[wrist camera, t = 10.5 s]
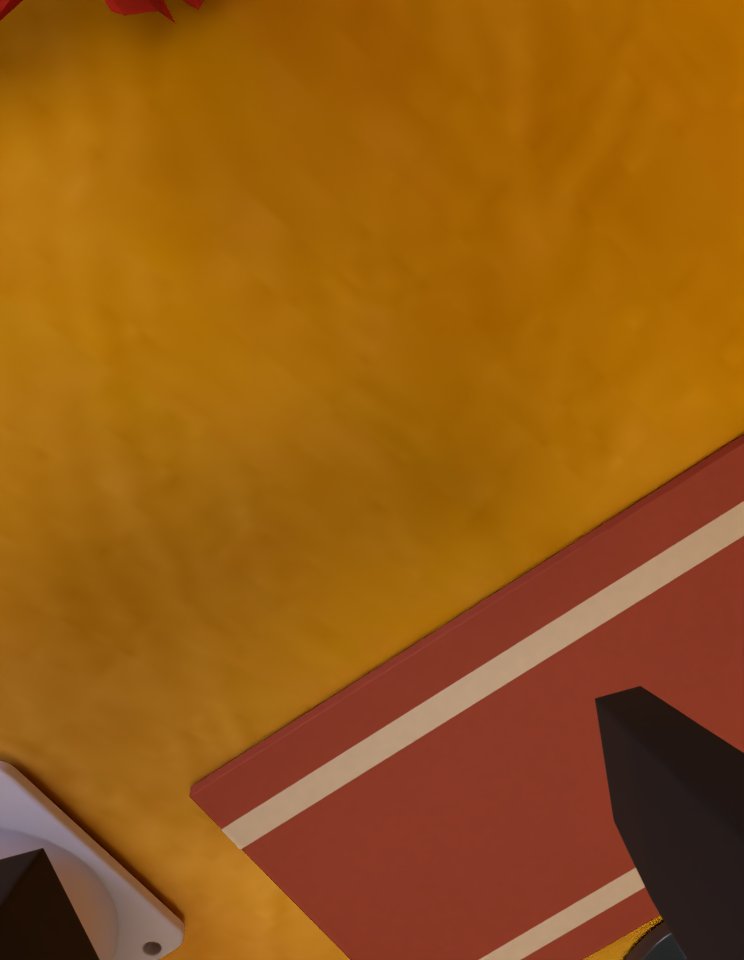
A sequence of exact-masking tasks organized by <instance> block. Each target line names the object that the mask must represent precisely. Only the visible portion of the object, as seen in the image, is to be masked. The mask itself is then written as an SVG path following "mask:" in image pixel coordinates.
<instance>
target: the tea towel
mask: <svg viewBox="0 0 744 960" xmlns="http://www.w3.org/2000/svg"><path fill="white" fill-rule="evenodd" d="M638 686H641V687H643V688H645V689H646V690H648V691H649V692H651V693H653V694H654V695H656V696H657V697H659V698H660V699H662V700H663V701H665V702H666V703H668V704H669V705H671V706H672V707H674V708H676V709H677V710H679V711H680V712H682V713H683V714H685V715H686V716H688V717H689V718H691V719H692V720H694V721H695V722H697V723H698V724H700V725H701V726H703V727H704V728H706V729H708V730H709V731H711V732H712V733H714V734H715V735H717V736H718V737H720V738H721V739H723V740H725V741H726V742H728V743H729V744H731V745H732V746H734V747H735V748H737V749H739V750H740V751H742V752H743V753H744V435H742V436H740V437H739V438H737V439H736V440H734V441H733V442H731V443H729V444H728V445H726V446H725V447H723V448H722V449H720V450H718V451H717V452H715V453H714V454H712V455H711V456H709V457H707V458H706V459H704V460H703V461H701V462H700V463H698V464H696V465H695V466H693V467H692V468H690V469H689V470H687V471H686V472H684V473H682V474H681V475H679V476H678V477H676V478H675V479H673V480H671V481H670V482H668V483H667V484H665V485H664V486H662V487H660V488H659V489H657V490H656V491H654V492H653V493H651V494H649V495H648V496H646V497H645V498H643V499H642V500H640V501H638V502H637V503H635V504H634V505H632V506H631V507H629V508H627V509H626V510H624V511H623V512H621V513H620V514H618V515H616V516H615V517H613V518H612V519H610V520H609V521H607V522H606V523H604V524H602V525H601V526H599V527H598V528H596V529H595V530H593V531H591V532H590V533H588V534H587V535H585V536H584V537H582V538H580V539H579V540H577V541H576V542H574V543H573V544H571V545H569V546H568V547H566V548H565V549H563V550H562V551H560V552H558V553H557V554H555V555H554V556H552V557H551V558H549V559H547V560H546V561H544V562H543V563H541V564H540V565H538V566H536V567H535V568H533V569H532V570H530V571H529V572H527V573H525V574H524V575H522V576H521V577H519V578H518V579H516V580H515V581H513V582H511V583H510V584H508V585H507V586H505V587H504V588H502V589H500V590H499V591H497V592H496V593H494V594H493V595H491V596H489V597H488V598H486V599H485V600H483V601H482V602H480V603H478V604H477V605H475V606H474V607H472V608H471V609H469V610H467V611H466V612H464V613H463V614H461V615H460V616H458V617H456V618H455V619H453V620H452V621H450V622H449V623H447V624H445V625H444V626H442V627H441V628H439V629H438V630H436V631H435V632H433V633H431V634H430V635H428V636H427V637H425V638H424V639H422V640H420V641H419V642H417V643H416V644H414V645H413V646H411V647H409V648H408V649H406V650H405V651H403V652H402V653H400V654H398V655H397V656H395V657H394V658H392V659H391V660H389V661H387V662H386V663H384V664H383V665H381V666H380V667H378V668H376V669H375V670H373V671H372V672H370V673H369V674H367V675H365V676H364V677H362V678H361V679H359V680H358V681H356V682H355V683H353V684H351V685H350V686H348V687H347V688H345V689H344V690H342V691H340V692H339V693H337V694H336V695H334V696H333V697H331V698H329V699H328V700H326V701H325V702H323V703H322V704H320V705H318V706H317V707H315V708H314V709H312V710H311V711H309V712H307V713H306V714H304V715H303V716H301V717H300V718H298V719H296V720H295V721H293V722H292V723H290V724H289V725H287V726H285V727H284V728H282V729H281V730H279V731H278V732H276V733H275V734H273V735H271V736H270V737H268V738H267V739H265V740H264V741H262V742H260V743H259V744H257V745H256V746H254V747H253V748H251V749H249V750H248V751H246V752H245V753H243V754H242V755H240V756H238V757H237V758H235V759H234V760H232V761H231V762H229V763H227V764H226V765H224V766H223V767H221V768H220V769H218V770H216V771H215V772H213V773H212V774H210V775H209V776H207V777H205V778H204V779H202V780H201V781H199V782H198V783H196V784H194V785H193V786H192V787H191V790H190V795H189V796H190V798H191V799H192V800H193V801H194V802H195V803H196V804H197V805H198V806H199V807H200V808H201V809H202V810H203V811H204V812H205V813H206V814H207V815H208V816H209V817H210V818H211V819H212V820H213V821H214V822H215V823H216V824H217V825H218V826H219V827H220V828H221V831H222V832H223V833H224V834H225V835H226V836H227V837H228V838H229V839H230V840H231V841H232V842H233V843H234V844H235V845H236V846H237V847H238V848H239V849H240V850H241V849H242V850H243V851H244V852H245V853H246V854H247V855H248V856H249V857H250V858H251V859H252V860H253V861H254V862H255V863H256V864H257V865H258V866H259V867H260V868H261V869H262V870H263V871H264V873H265V874H266V875H267V876H268V877H269V878H270V879H271V880H272V881H273V882H274V883H275V884H276V885H277V886H278V887H279V888H280V889H281V890H282V891H283V892H284V893H285V894H286V895H287V896H288V897H289V898H290V899H291V900H292V901H293V902H294V903H295V904H296V905H297V906H298V907H299V908H300V909H301V910H302V911H303V912H304V913H305V914H306V915H307V916H308V917H309V918H310V919H311V920H312V921H313V922H314V923H315V924H316V925H317V926H318V927H319V928H320V929H321V930H322V931H323V932H324V933H325V934H326V935H327V936H328V937H329V938H330V939H331V940H332V941H333V942H334V943H335V944H336V945H337V946H338V947H339V948H340V949H341V950H342V951H343V952H344V953H345V954H346V956H347V957H348V958H349V959H350V960H583V959H585V958H587V957H588V956H590V955H592V954H593V953H595V952H597V951H599V950H600V949H602V948H604V947H606V946H607V945H609V944H611V943H612V942H614V941H616V940H618V939H619V938H621V937H623V936H625V935H626V934H628V933H630V932H631V931H633V930H635V929H637V928H638V927H640V926H642V925H644V924H645V923H647V922H649V921H650V920H652V919H654V918H656V917H657V916H659V915H660V913H659V912H658V910H657V908H656V907H655V905H654V903H653V902H652V900H651V898H650V896H649V894H648V892H647V890H646V888H645V886H644V883H643V881H642V879H641V877H640V875H639V873H638V871H637V869H636V867H635V865H634V863H633V861H632V859H631V857H630V854H629V852H628V850H627V848H626V846H625V844H624V842H623V840H622V837H621V835H620V833H619V831H618V829H617V827H616V825H615V822H614V819H613V813H612V806H611V800H610V793H609V787H608V781H607V774H606V768H605V761H604V755H603V748H602V742H601V735H600V729H599V722H598V716H597V709H596V703H595V698H598V697H601V696H605V695H609V694H613V693H616V692H620V691H624V690H627V689H631V688H635V687H638Z"/></svg>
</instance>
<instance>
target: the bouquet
mask: <svg viewBox="0 0 744 960" xmlns="http://www.w3.org/2000/svg"><path fill="white" fill-rule="evenodd" d="M21 1H22V0H0V20H2V19H3V18H4V17H5V16H6V15H7V14H8V13H9V12H10V11H11V10H13V9H14V8H15V7H16V6H17V5H18V4H19V3H20V2H21ZM183 1H185V2H187V3H188V4H190V5H191V6H193V7H195V8H196V9H199V7H200V6H201V4H202V2H203V1H204V0H183ZM105 2H106V4H107V5H108V7H109V8H110V10H111V11H113V12H116V13H119V14H122V15H129V14H137V13H145V12H154V11H159V12H161V13H162V14H163V15H165V16H166V17H167V18H169V19H170V20H171V21H173V22H174V23H175V21H174V20H173V18H172V16H171V14H170V12H169V10H168V8H167V6H166V4H165V3H164V1H163V0H105ZM175 24H176V23H175Z"/></svg>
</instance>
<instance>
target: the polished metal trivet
mask: <svg viewBox="0 0 744 960" xmlns="http://www.w3.org/2000/svg"><path fill="white" fill-rule="evenodd" d="M625 960H687V958H686V956H685V955H684V953H683V951H682V950H681V948H680V947H679V945H678V943H677V942H676V940H675V938H674V937H673V935H672V933H671V932H670V930H669V928H668V927H667V925H666V923H665V922H664V921H663V922H662V923H660V924H659V925H658V926H657V927H655V928H654V929H653V930H651V931H650V932H649V933H648V934H647V935H646V936H645V937H644V938H643V939H642V940H640V941H639V942H638V943H637V944H636V946H635V947H634V948H633V949H632V950H631V952H630V953H629V954H628V955H627V957H626V958H625Z"/></svg>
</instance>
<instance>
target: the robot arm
mask: <svg viewBox="0 0 744 960" xmlns="http://www.w3.org/2000/svg"><path fill="white" fill-rule="evenodd" d="M595 703H596V709H597V716H598V722H599V729H600V735H601V742H602V748H603V755H604V761H605V768H606V774H607V781H608V787H609V793H610V800H611V806H612V813H613V819H614V822H615V825H616V827H617V829H618V831H619V833H620V835H621V837H622V840H623V842H624V844H625V846H626V848H627V850H628V852H629V854H630V857H631V859H632V861H633V863H634V865H635V867H636V869H637V871H638V873H639V875H640V877H641V879H642V881H643V883H644V886H645V888H646V890H647V892H648V894H649V896H650V898H651V900H652V902H653V903H654V905H655V907H656V908H657V910H658V912H659V913H660V915H661V917H662V918H663V920H664V922H665V923H666V925H667V927H668V928H669V930H670V932H671V933H672V935H673V937H674V938H675V940H676V942H677V943H678V945H679V947H680V948H681V950H682V951H683V953H684V955H685V956H686V958H687V960H744V753H743V752H742V751H740V750H739V749H737V748H735V747H734V746H732V745H731V744H729V743H728V742H726V741H725V740H723V739H721V738H720V737H718V736H717V735H715V734H714V733H712V732H711V731H709V730H708V729H706V728H704V727H703V726H701V725H700V724H698V723H697V722H695V721H694V720H692V719H691V718H689V717H688V716H686V715H685V714H683V713H682V712H680V711H679V710H677V709H676V708H674V707H672V706H671V705H669V704H668V703H666V702H665V701H663V700H662V699H660V698H659V697H657V696H656V695H654V694H653V693H651V692H649V691H648V690H646V689H645V688H643V687H641V686H638V687H635V688H631V689H627V690H624V691H620V692H616V693H613V694H609V695H605V696H601V697H598V698H595ZM184 934H185V925H184V924H183V922H182V921H181V920H180V919H179V918H178V917H177V916H176V915H175V914H174V913H173V912H171V911H170V910H169V909H168V908H167V907H166V906H165V905H164V904H163V903H162V902H161V901H160V900H158V899H157V898H156V897H155V896H154V895H153V894H152V893H151V892H150V891H149V890H148V889H146V888H145V887H144V886H143V885H142V884H141V883H140V882H139V881H138V880H137V879H136V878H135V877H133V876H132V875H131V874H130V873H129V872H128V871H127V870H126V869H125V868H124V867H123V866H121V865H120V864H119V863H118V862H117V861H116V860H115V859H114V858H113V857H112V856H111V855H109V854H108V853H107V852H106V851H105V850H104V849H103V848H102V847H101V846H100V845H99V844H98V843H96V842H95V841H94V840H93V839H92V838H91V837H90V836H89V835H88V834H87V833H86V832H84V831H83V830H82V829H81V828H80V827H79V826H78V825H77V824H76V823H75V822H74V821H73V820H71V819H70V818H69V817H68V816H67V815H66V814H65V813H64V812H63V811H62V810H61V809H59V808H58V807H57V806H56V805H55V804H54V803H53V802H52V801H51V800H50V799H49V798H48V797H46V796H45V795H44V794H43V793H42V792H41V791H40V790H39V789H38V788H37V787H36V786H34V785H33V784H32V783H31V782H30V781H29V780H28V779H27V778H26V777H25V776H24V775H23V774H21V773H20V772H19V771H18V770H17V769H16V768H15V767H14V766H12V765H11V764H9V763H7V762H3V761H0V960H159V959H160V958H162V957H164V956H165V955H167V954H169V953H170V952H172V951H173V950H175V949H177V948H178V947H179V946H180V945H181V944H182V942H183V940H184ZM151 942H157V943H151Z"/></svg>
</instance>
